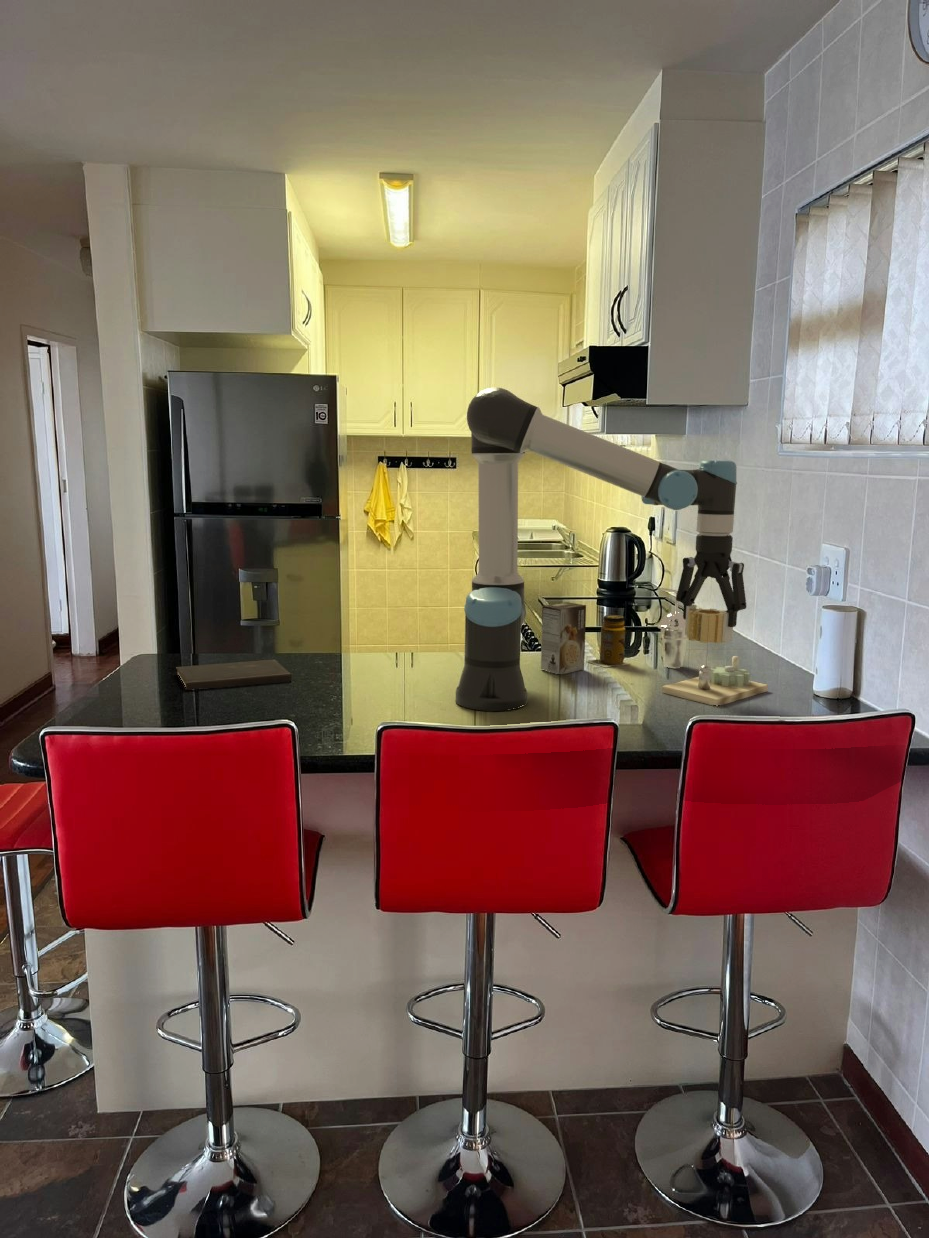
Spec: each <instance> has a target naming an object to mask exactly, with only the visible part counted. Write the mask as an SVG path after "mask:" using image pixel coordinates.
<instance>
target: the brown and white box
mask: <svg viewBox="0 0 929 1238" xmlns="http://www.w3.org/2000/svg"><path fill="white" fill-rule="evenodd" d="M541 609H542V611H541V612H542V613H541V615H542V616H541V619H542V620H541V647H540V648H541V649H540V651H541V654H540V656H541V657H540V670H541V669H544V670H547V671H550V672H553V673H555V674H554V675H557V674H561V675H565V674H569V673H574V672H578V671H583V670H585V657H586V656H585V654H586V653H585V650H586V627H587V626H586V619H587V605H586V604H579V603H575V602H566V601H565V602H560V603H559V602H558V603H552V604H546V605H542V607H541ZM550 672H549V673H550ZM553 673H552V674H553Z"/></svg>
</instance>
